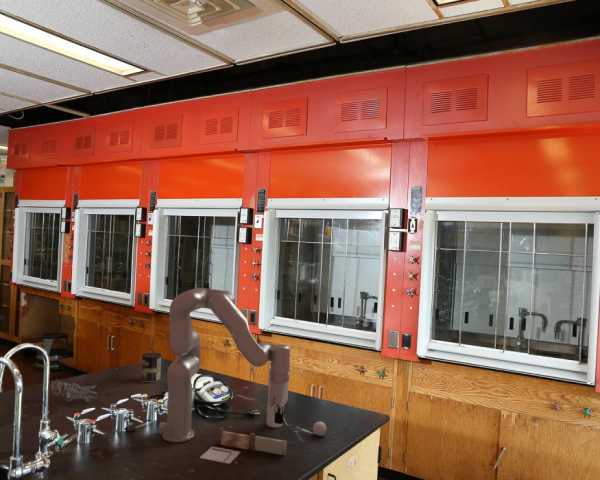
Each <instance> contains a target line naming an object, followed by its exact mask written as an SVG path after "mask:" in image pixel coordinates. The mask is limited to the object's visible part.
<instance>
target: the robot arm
mask: <svg viewBox="0 0 600 480" xmlns="http://www.w3.org/2000/svg"><path fill="white" fill-rule="evenodd" d="M200 309H208V310H211V312H212V313H213V314H214V315H215V316H216V318H217V319H218V320H219V321H220V322H221V324H222V325H223V326H224V327H225V329H226V330H227V331H228V332H229V334H230V336H231V338H232V340H233V342H234V344H235V346H236V348H237V350H238V351H239V352H240V354H241V355H242V356H243V358H245V360H246V361H248V363H249V365H252V366H253V367H256V368H260V367H263V366H264V365H266V364H267V363H268V362H270V366H271V374H270V381H271V387H270V399H269V407H272V406H273V405H274V410H273V412H275V423H277V424H282V423H283V424H284V417H285V415H284V413H285V405H286V403H287V402H288V400H289V386H288V385H289V384H288V383H289V382H290V371H291V370H290V368H291V367H290V363H291V361H290V360H291V348H290V346H288V345H287V344H280V343H279V344H273V343H269V342H259V343H258V342H257V340H255V338H254V337H253V335H252V333H251V331H250V328H249V322H248V321H249V320H248V319H247V317H246V316H245V315H244V314H243V313H242V311H241V310H240V309H239V308H238V307H237V305H236V298H235V296H234V294H232V293H231V292H230V291H227V290H223V289H222V290H220V289H214V288H213V289H212V288H206V287H196V288H193V289H189V290H186V291H183V292H182V293H180V294H178V295H177V296H175V297H174V298H173V300H171V303H170V306H169V314H168V315H169V349H170V351H171V353H172V354H173V355H175V356H178V358H176V359H175V360H173V361H172V362H171V364H169V366H168V369H167V373H166V377H167V378H166V379H167V386H168V387H167V392H168V393H167V415H166V422H164V421H160V422H159V426H158V429H159V430H163V433H162V439H163V440H164V441H167V442H170V443H184V442H186V441H187V442H188V441H189V440H192V439H193V438H194V437H195V431H194V430H193V429H192V411H193V410H192V407H193V385H192V378H193V377H194V376H195V375H196V374H197V373H198V372H199V371H200V368H201V361H202V359H201V338H200V335H199V333H198V332H197V330H195V329H194V328H193V327H192V319H191V313H192V312H194V311H197V310H200ZM282 412H283V413H282Z"/></svg>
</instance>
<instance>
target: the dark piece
mask: <svg viewBox="0 0 600 480" xmlns="http://www.w3.org/2000/svg"><path fill="white" fill-rule="evenodd" d="M86 385H88V386H86ZM49 388H51V391H52V393H53V394H54V395H55V396H58V395H60V393H61V392H62V388H63V390H64V391H63V393H62V396H64V395H65V396H66V397H65V398H66V400H67V401H68V402H74V400H76V401H80V400H84V401H85V402H86V403H87V402H89V403H88V404H90V403H91V401H92V399H94V400H96V399H99V397H98V393H97V391H93V389H95V390H97V388H98V387H97V385H93V384H92V383H91V384H89V383H84V386H80V385H78V384H77V383H75V382H74V383H72V384H71V383H69V382H68V383H67V382H66V381H64V382H62V379H57V378H55V380H51V384H50V386H49ZM91 389H92V390H91ZM55 390H57V391H58V392H57V391H55ZM88 394H89V395H88ZM91 394H92V395H96V396H91ZM89 400H90V401H89Z"/></svg>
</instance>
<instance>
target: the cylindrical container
mask: <svg viewBox="0 0 600 480" xmlns="http://www.w3.org/2000/svg"><path fill="white" fill-rule="evenodd" d="M270 374H271V365H270V366H269V367H268V381H267V382H268V385H267V386H268V387H267V403H266V404H267V408H266V425H267V426H268V427H270V428H280V427H282V426H283V425H284V422H283V423H282V424H277V423H275V412H273V410H274V405H273V406H272V407H269V399H270V387H271V381H270ZM282 413H284V412H282Z"/></svg>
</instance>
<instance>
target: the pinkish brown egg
mask: <svg viewBox="0 0 600 480" xmlns="http://www.w3.org/2000/svg"><path fill="white" fill-rule="evenodd" d="M312 430H313V431H312V432H313V433H314V434H315V435H316V436H319V437H321V436H324V435H325V434H326V432H327V425H326V424H325V423H324V422H323V421H316V422H315V423H314V424H313V427H312Z"/></svg>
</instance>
